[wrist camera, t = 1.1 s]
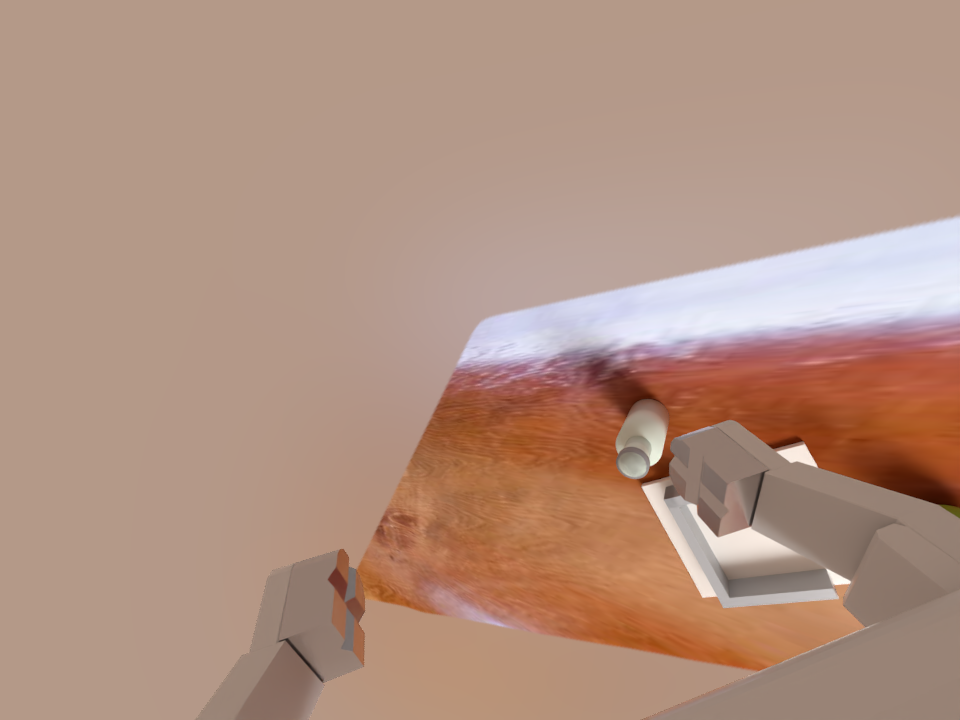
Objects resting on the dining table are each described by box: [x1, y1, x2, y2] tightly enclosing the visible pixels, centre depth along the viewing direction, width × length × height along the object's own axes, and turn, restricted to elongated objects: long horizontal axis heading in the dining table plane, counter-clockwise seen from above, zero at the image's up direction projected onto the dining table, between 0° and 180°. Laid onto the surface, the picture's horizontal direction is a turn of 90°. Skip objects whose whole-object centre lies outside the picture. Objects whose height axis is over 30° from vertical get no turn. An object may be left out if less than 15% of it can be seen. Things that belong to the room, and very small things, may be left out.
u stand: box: [641, 441, 851, 608], centre depth 46 cm, size 18×16×4 cm
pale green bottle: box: [616, 399, 669, 479], centre depth 44 cm, size 5×5×13 cm
